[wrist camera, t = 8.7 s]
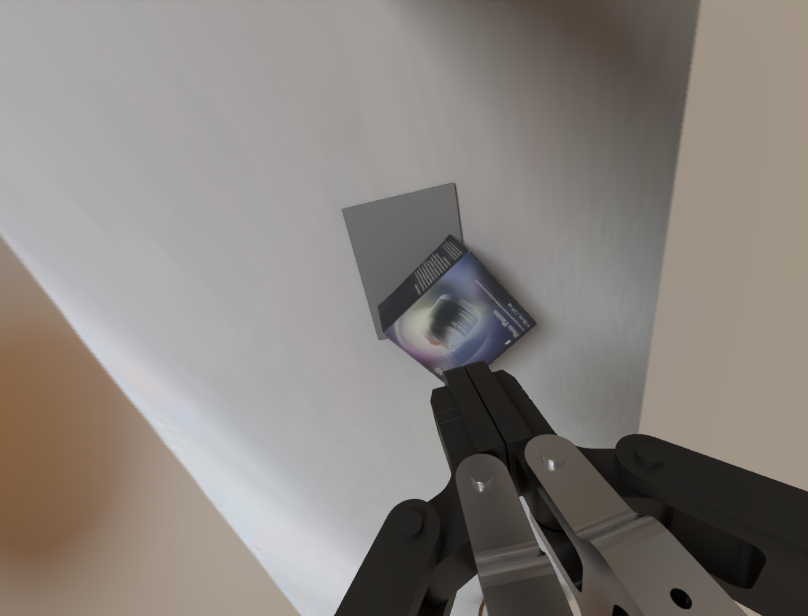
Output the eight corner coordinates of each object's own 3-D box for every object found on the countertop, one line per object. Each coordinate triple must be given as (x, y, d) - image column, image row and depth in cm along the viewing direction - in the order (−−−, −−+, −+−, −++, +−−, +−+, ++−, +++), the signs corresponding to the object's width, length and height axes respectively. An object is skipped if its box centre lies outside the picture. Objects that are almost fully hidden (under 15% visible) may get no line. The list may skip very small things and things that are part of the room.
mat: (341, 209, 31) (341, 209, 30) (453, 182, 31) (454, 182, 31) (378, 338, 37) (378, 340, 36) (470, 314, 37) (471, 315, 37)
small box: (542, 326, 31) (458, 397, 33) (512, 298, 37) (442, 360, 39) (469, 249, 27) (379, 337, 29) (449, 231, 33) (375, 305, 35)
